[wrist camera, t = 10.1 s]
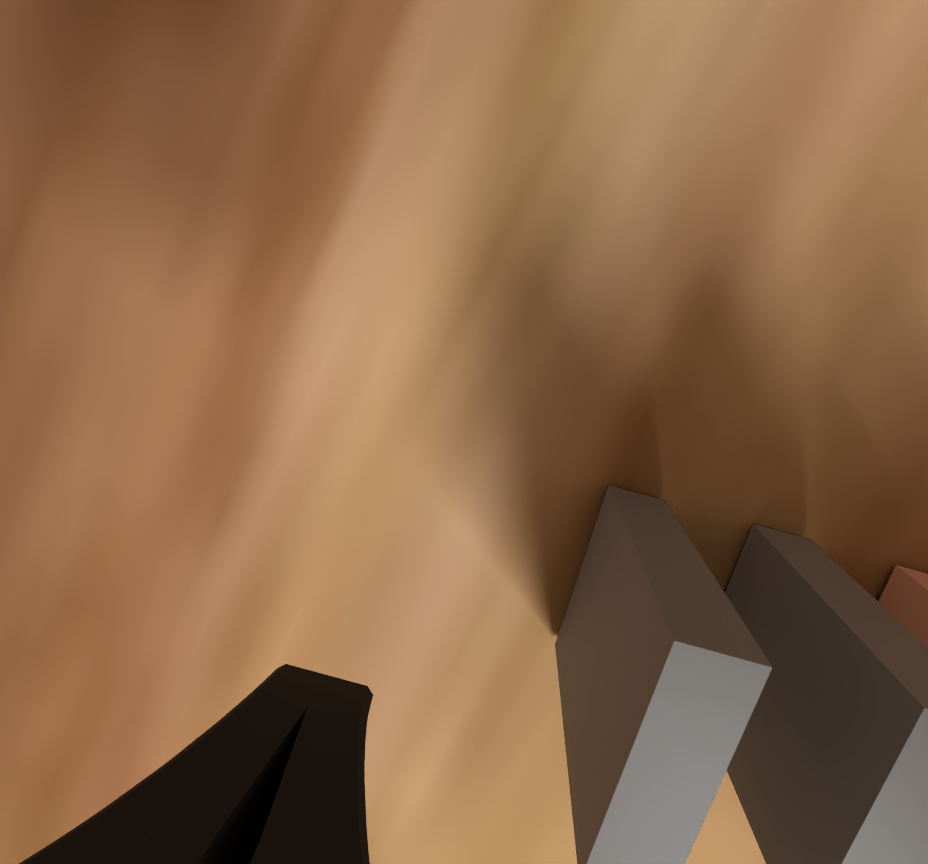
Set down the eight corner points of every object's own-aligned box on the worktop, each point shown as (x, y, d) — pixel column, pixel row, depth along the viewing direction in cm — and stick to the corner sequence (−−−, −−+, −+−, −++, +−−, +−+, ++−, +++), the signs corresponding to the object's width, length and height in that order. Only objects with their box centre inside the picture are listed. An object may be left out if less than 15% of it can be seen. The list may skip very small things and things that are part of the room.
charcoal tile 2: (810, 539, 16) (1023, 735, 9) (742, 694, 17) (886, 966, 11) (753, 523, 16) (924, 708, 9) (689, 680, 17) (799, 942, 11)
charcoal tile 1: (665, 500, 16) (773, 667, 9) (608, 658, 17) (665, 906, 11) (608, 485, 16) (674, 640, 9) (555, 644, 17) (579, 882, 11)
